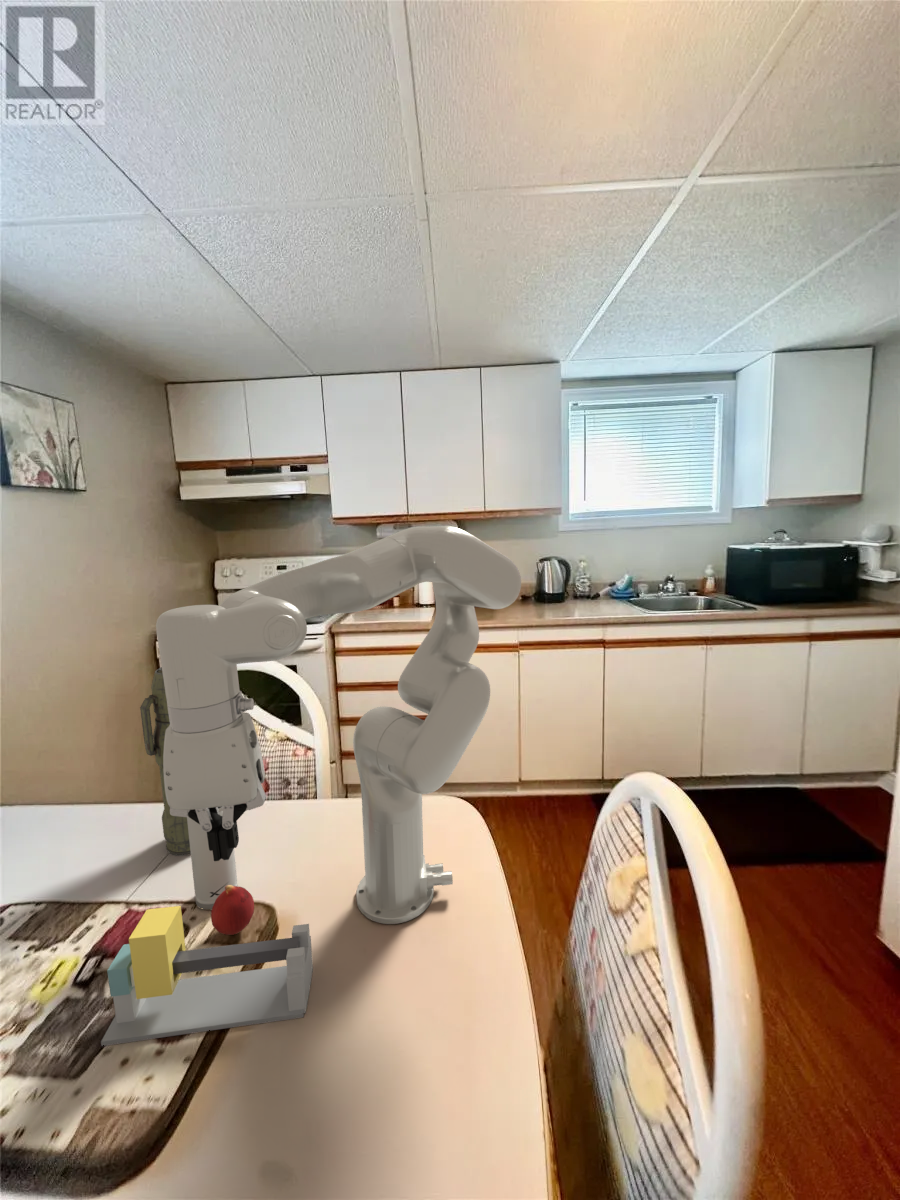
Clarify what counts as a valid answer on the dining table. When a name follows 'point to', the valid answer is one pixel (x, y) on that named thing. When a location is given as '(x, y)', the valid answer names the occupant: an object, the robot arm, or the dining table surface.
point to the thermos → (172, 825)
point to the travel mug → (208, 867)
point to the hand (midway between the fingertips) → (225, 852)
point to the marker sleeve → (156, 951)
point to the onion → (232, 910)
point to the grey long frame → (214, 990)
